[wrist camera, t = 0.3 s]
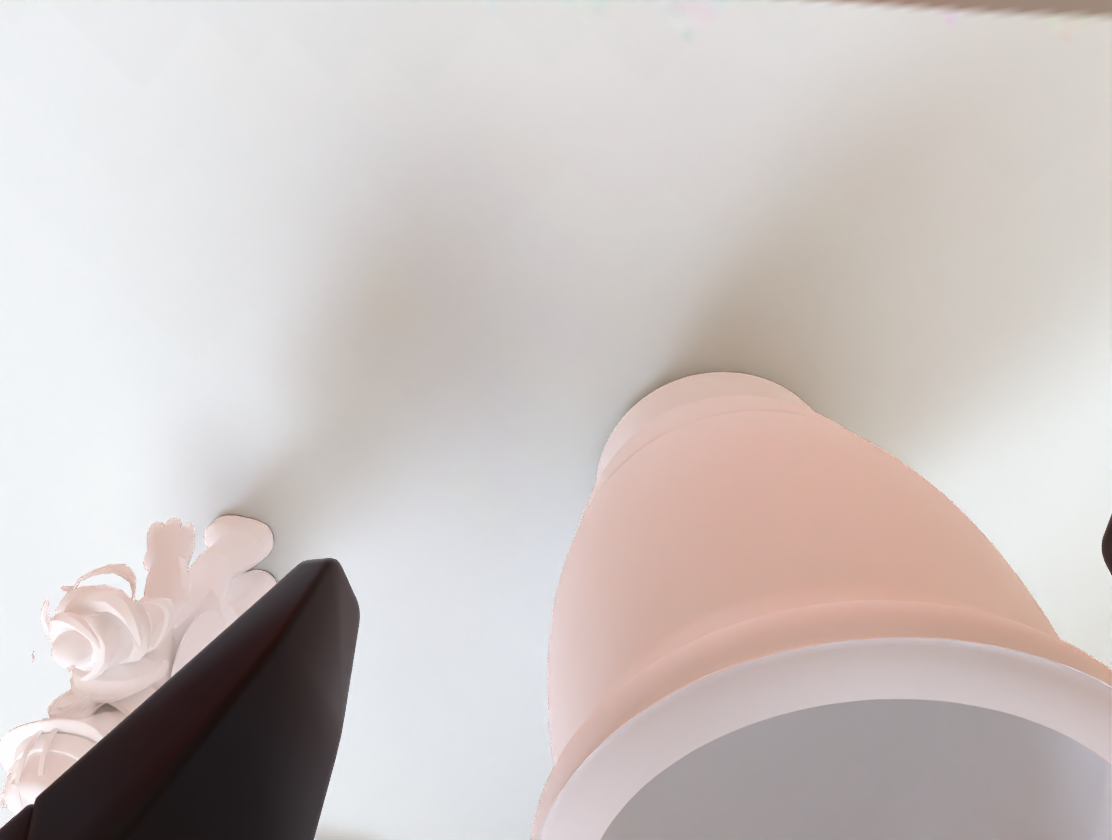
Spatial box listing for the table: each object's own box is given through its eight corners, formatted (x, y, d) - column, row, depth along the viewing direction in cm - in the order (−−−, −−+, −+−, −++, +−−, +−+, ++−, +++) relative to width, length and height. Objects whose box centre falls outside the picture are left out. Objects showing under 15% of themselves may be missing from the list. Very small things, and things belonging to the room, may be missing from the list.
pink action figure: (299, 660, 28) (103, 989, 17) (206, 647, 28) (-51, 966, 17) (295, 462, 25) (49, 710, 14) (189, 448, 25) (-140, 683, 14)
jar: (861, 600, 26) (1170, 1133, 12) (584, 618, 27) (565, 1126, 13) (870, 321, 22) (1340, 612, 8) (549, 354, 23) (469, 664, 9)
